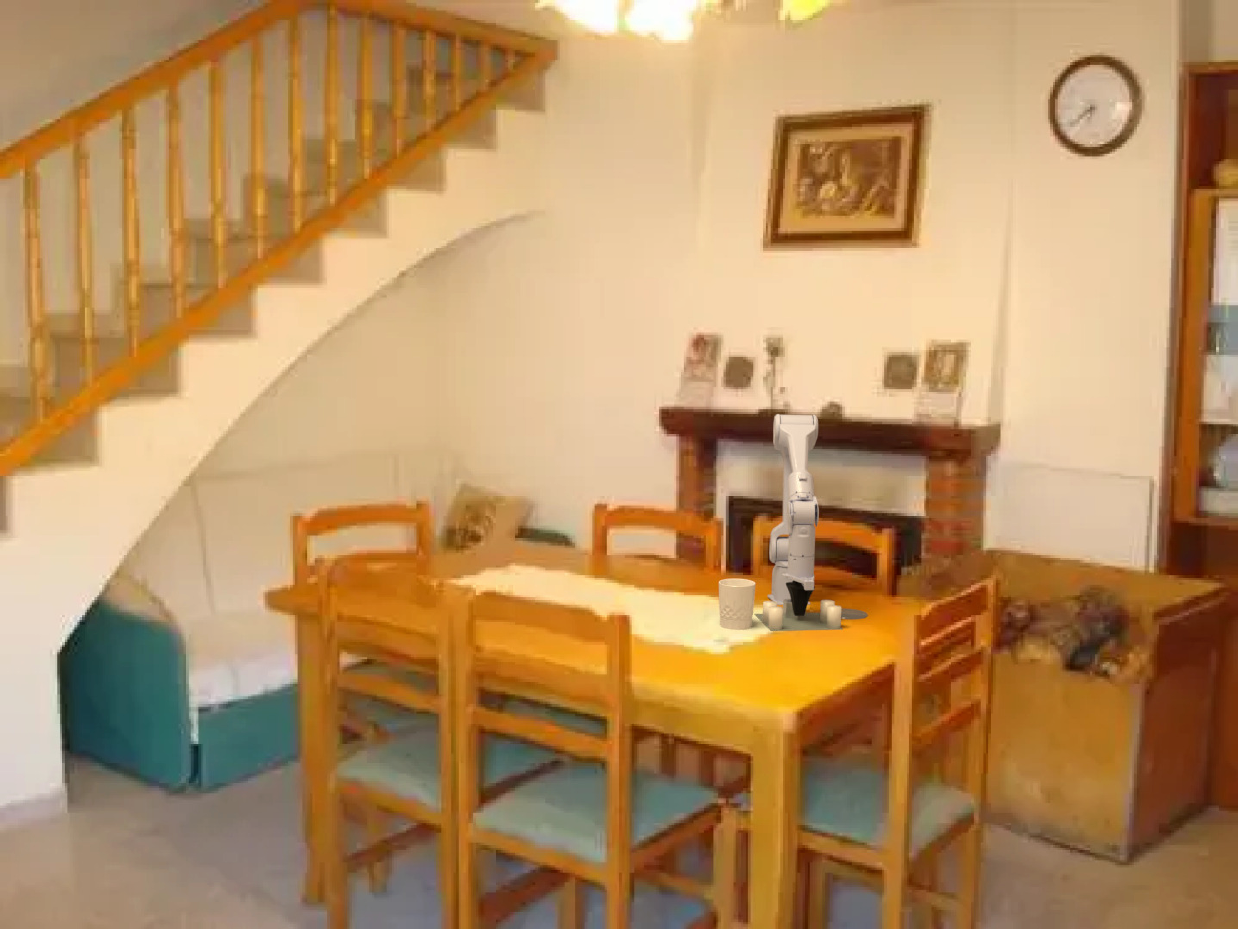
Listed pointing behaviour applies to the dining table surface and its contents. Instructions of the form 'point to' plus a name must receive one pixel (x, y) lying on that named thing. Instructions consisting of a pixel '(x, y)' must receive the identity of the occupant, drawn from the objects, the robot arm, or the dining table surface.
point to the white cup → (736, 603)
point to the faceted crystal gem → (789, 610)
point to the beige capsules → (827, 614)
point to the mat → (801, 623)
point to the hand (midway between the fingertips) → (799, 615)
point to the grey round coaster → (852, 614)
